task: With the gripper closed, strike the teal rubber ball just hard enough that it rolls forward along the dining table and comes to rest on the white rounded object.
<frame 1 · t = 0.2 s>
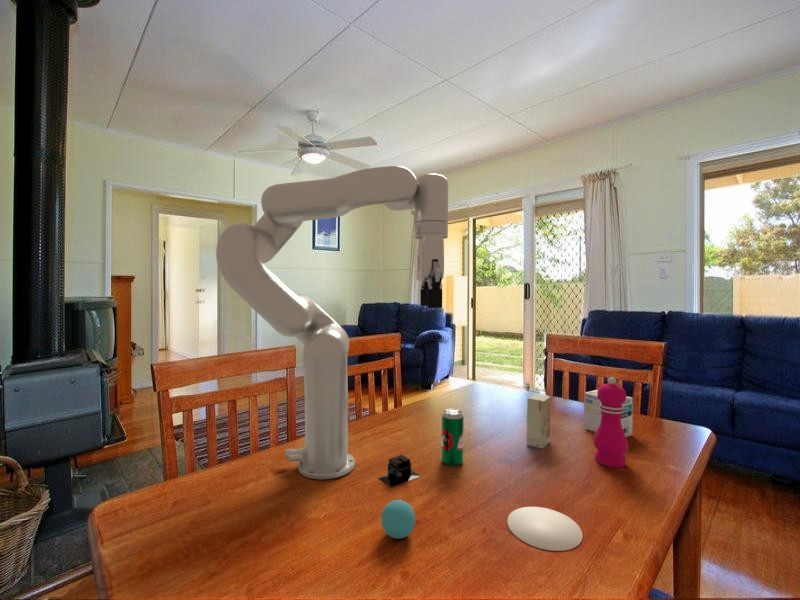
hand: (430, 306, 90), 36 cm above the table, tool pointing down, fingers open, 9 cm apart
light bulb box: (607, 433, 112), on the table
ball: (398, 518, 65), on the table
pepper mill: (610, 462, 93), on the table
soda can: (452, 463, 93), on the table
skincare box: (538, 444, 104), on the table
white rounded object: (543, 527, 68), on the table
black box: (399, 480, 85), on the table
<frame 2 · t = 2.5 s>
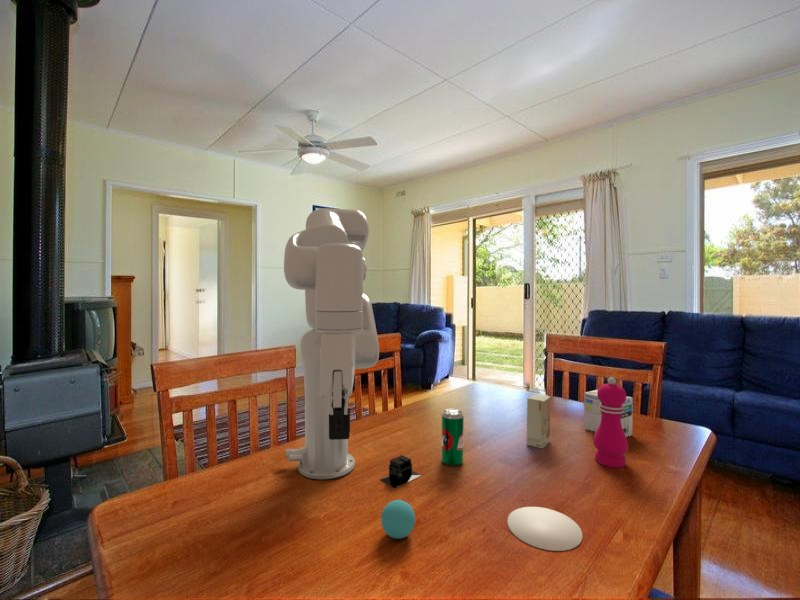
hand: (339, 435, 64), 17 cm above the table, tool pointing down, fingers closed
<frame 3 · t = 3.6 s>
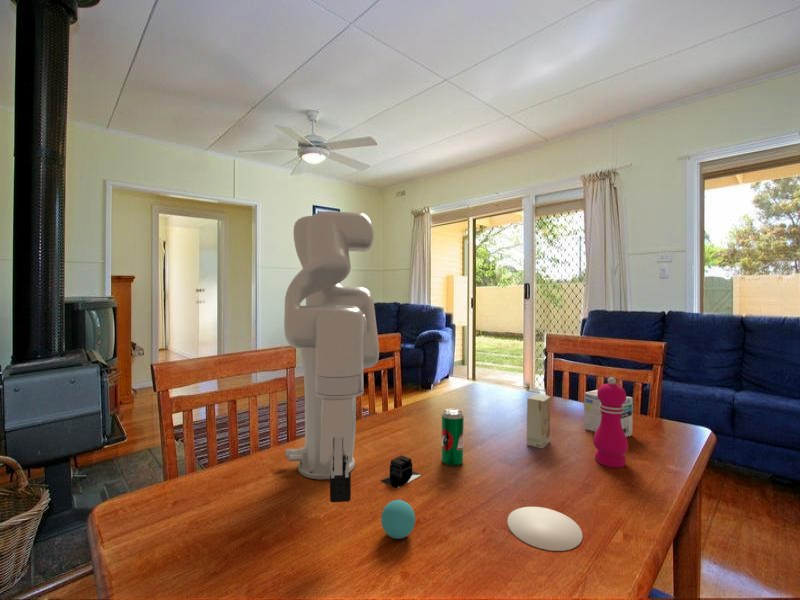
hand: (340, 499, 63), 7 cm above the table, tool pointing down, fingers closed
nothing on the table moved.
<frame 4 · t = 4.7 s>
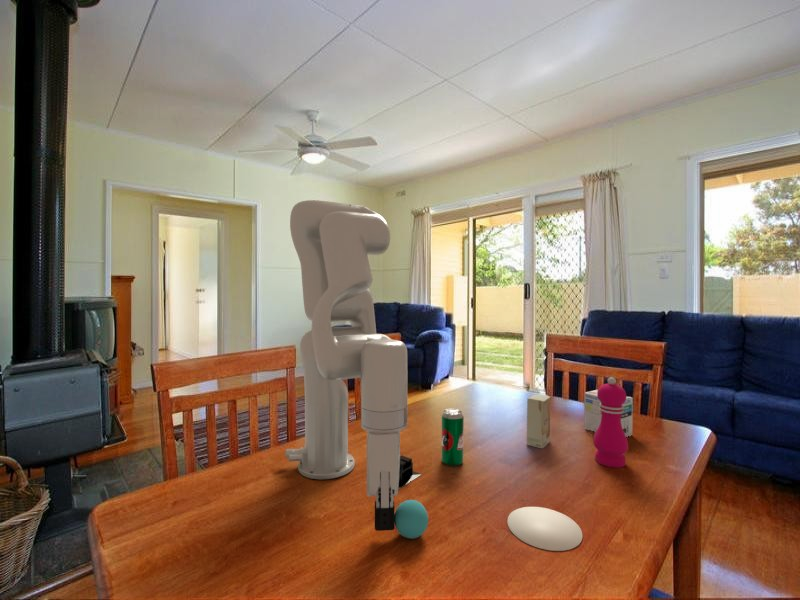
hand: (384, 527, 65), 2 cm above the table, tool pointing down, fingers closed
ball: (411, 518, 65), on the table
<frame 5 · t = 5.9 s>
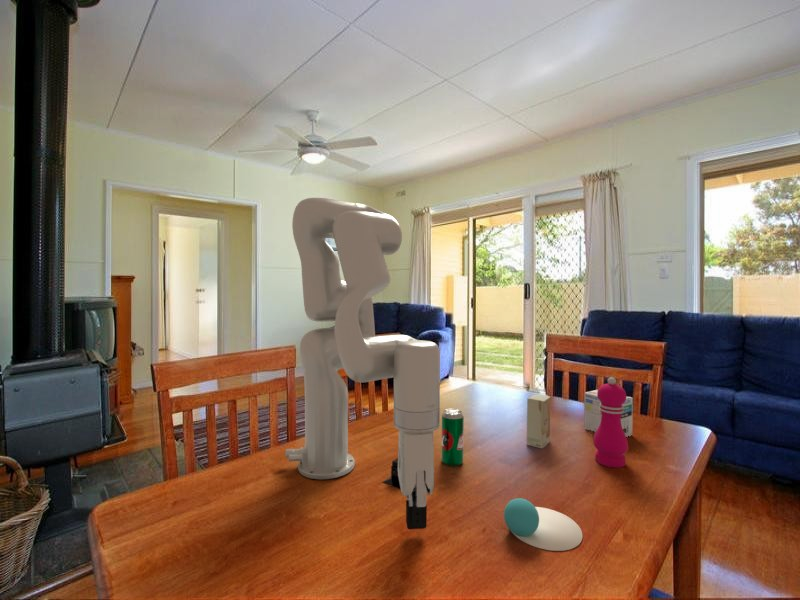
hand: (416, 525, 66), 2 cm above the table, tool pointing down, fingers closed
ball: (521, 516, 66), on the table
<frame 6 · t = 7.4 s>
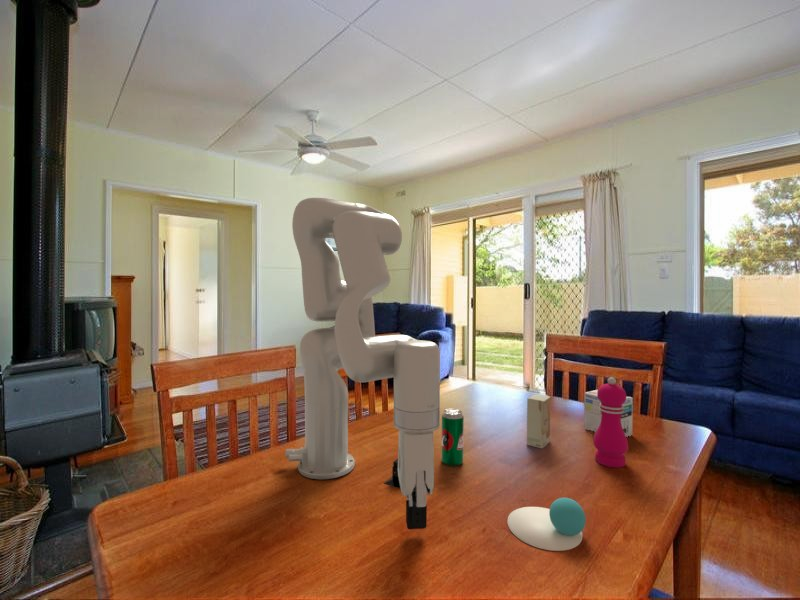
hand: (416, 525, 66), 2 cm above the table, tool pointing down, fingers closed
ball: (567, 516, 66), on the table
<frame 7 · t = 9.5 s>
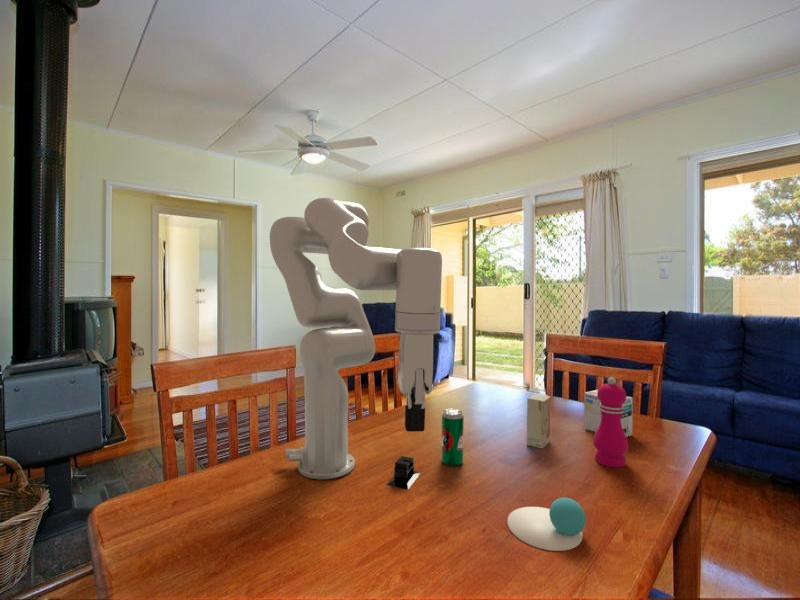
hand: (414, 429, 67), 17 cm above the table, tool pointing down, fingers closed
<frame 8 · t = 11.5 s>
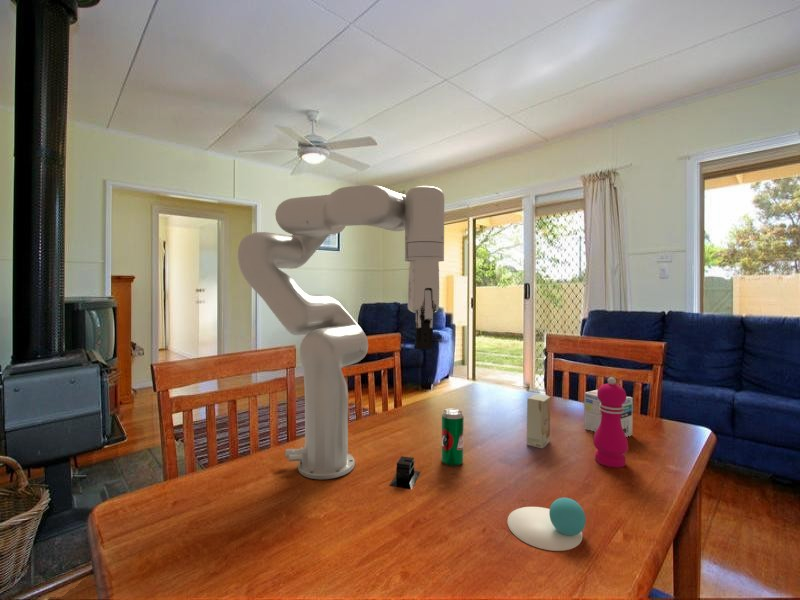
hand: (423, 348, 77), 29 cm above the table, tool pointing down, fingers closed
at the end: ball 3.6 cm from the white rounded object (horizontally); ball at rest at the end (0.0 cm/s); ball moved 28.3 cm from its start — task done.
